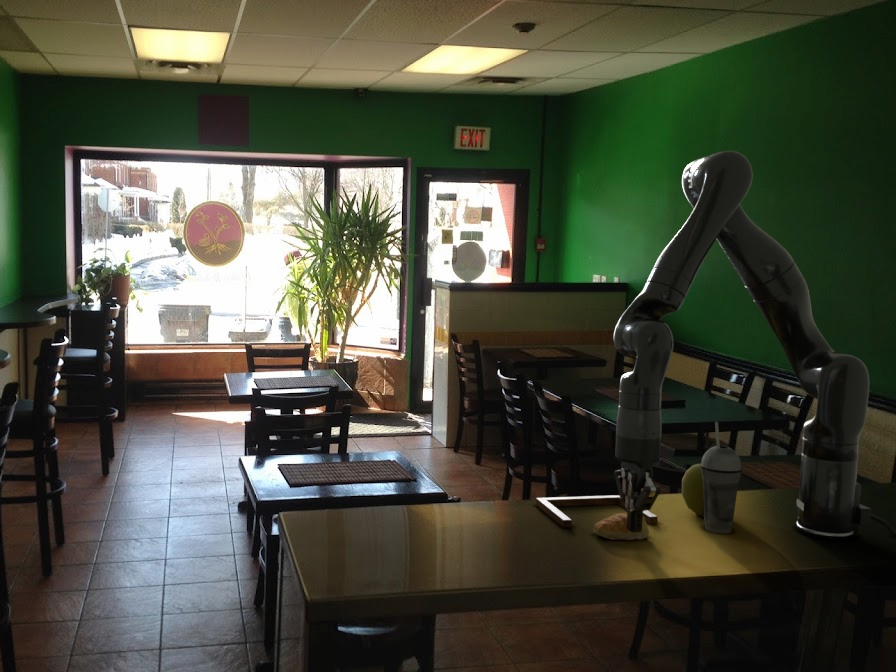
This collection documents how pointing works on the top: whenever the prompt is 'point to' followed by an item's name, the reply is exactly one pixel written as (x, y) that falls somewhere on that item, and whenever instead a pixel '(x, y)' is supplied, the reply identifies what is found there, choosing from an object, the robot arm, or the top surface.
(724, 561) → the top surface
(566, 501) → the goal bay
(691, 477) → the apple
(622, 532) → the pastry
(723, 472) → the beverage cup
